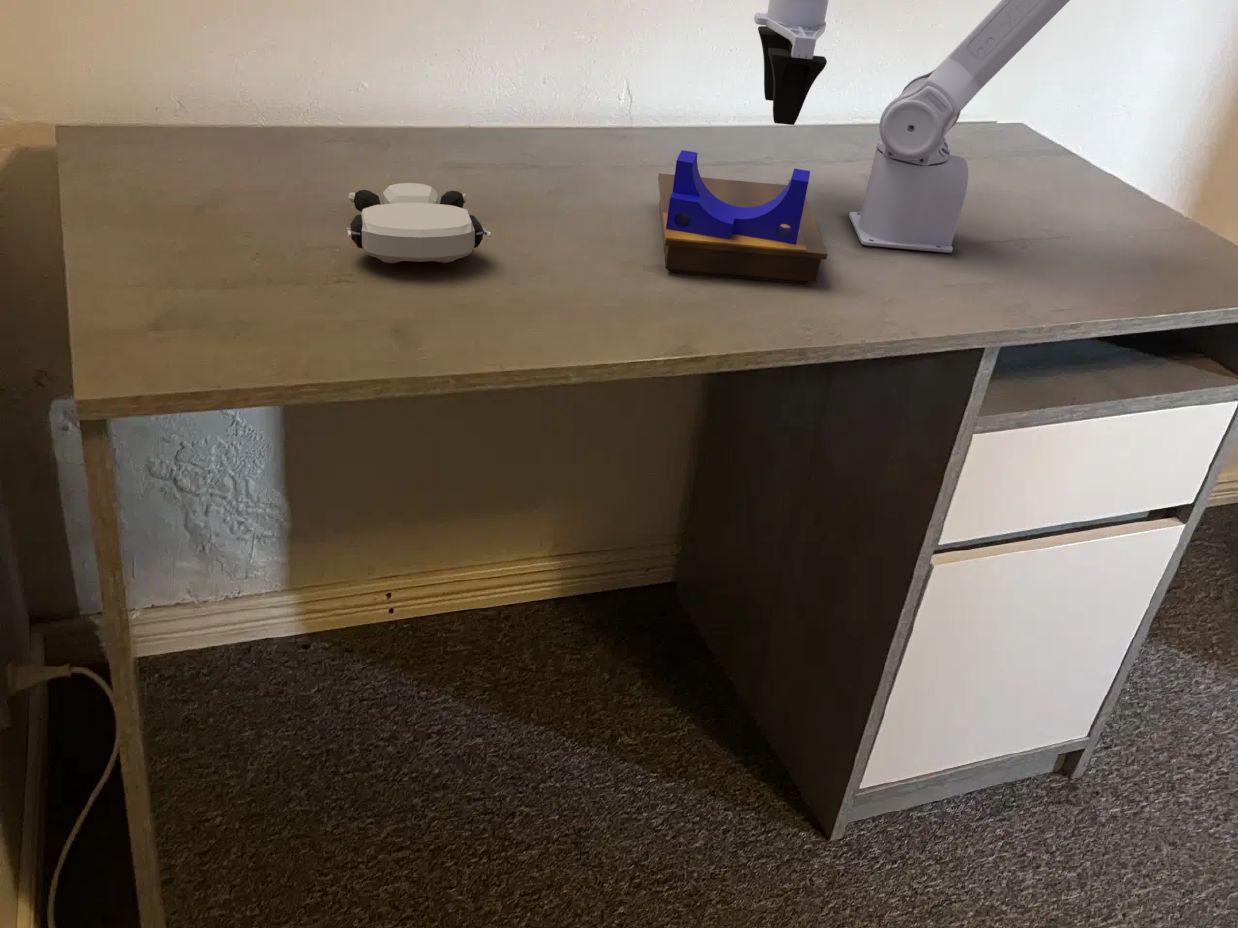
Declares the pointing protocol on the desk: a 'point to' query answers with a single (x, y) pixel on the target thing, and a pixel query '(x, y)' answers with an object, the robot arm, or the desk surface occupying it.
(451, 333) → the desk surface
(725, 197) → the walnut stand
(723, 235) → the cable clip
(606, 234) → the desk surface
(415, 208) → the robot toy
